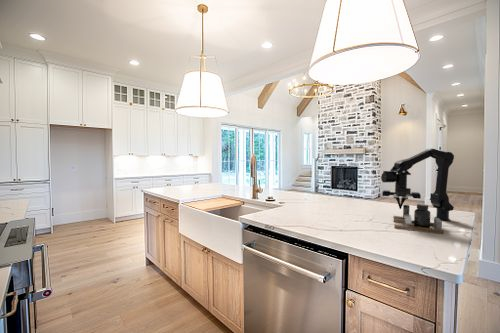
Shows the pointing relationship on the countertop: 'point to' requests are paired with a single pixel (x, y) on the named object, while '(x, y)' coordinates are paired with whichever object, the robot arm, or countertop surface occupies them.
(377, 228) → the countertop surface
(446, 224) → the countertop surface
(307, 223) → the countertop surface
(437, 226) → the press base
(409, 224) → the bar
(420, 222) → the supplement bottle
